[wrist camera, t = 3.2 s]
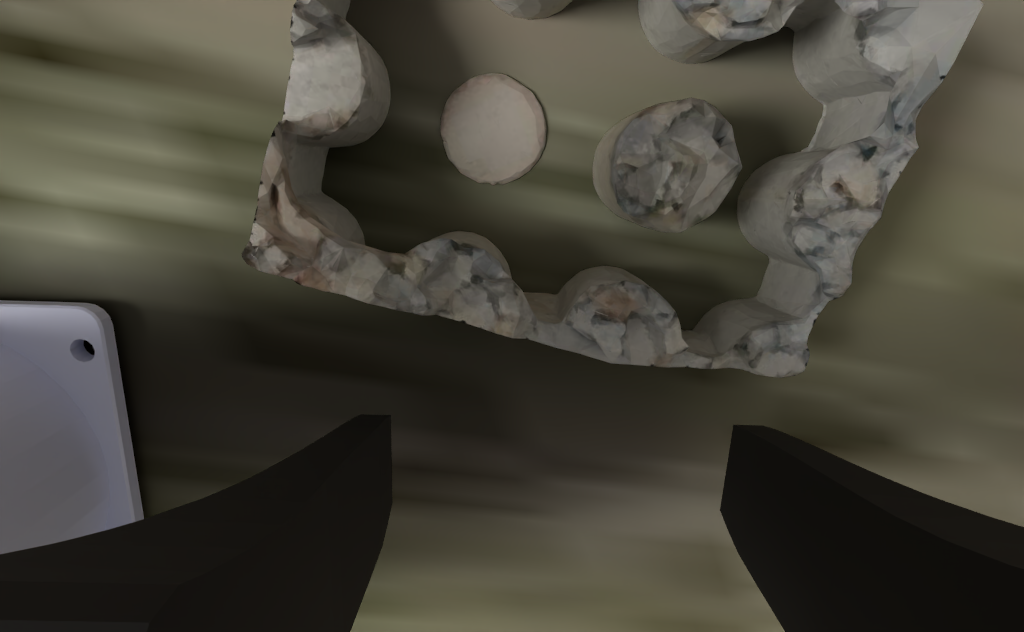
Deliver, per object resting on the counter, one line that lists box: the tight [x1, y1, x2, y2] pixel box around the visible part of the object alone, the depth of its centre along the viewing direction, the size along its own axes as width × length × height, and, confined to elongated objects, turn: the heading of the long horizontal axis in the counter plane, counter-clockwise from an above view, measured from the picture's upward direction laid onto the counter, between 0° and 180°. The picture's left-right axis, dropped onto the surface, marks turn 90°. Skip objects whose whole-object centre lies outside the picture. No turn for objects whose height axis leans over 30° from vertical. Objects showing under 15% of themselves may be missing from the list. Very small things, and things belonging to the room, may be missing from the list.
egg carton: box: [242, 0, 983, 377], centre depth 10 cm, size 11×8×4 cm
